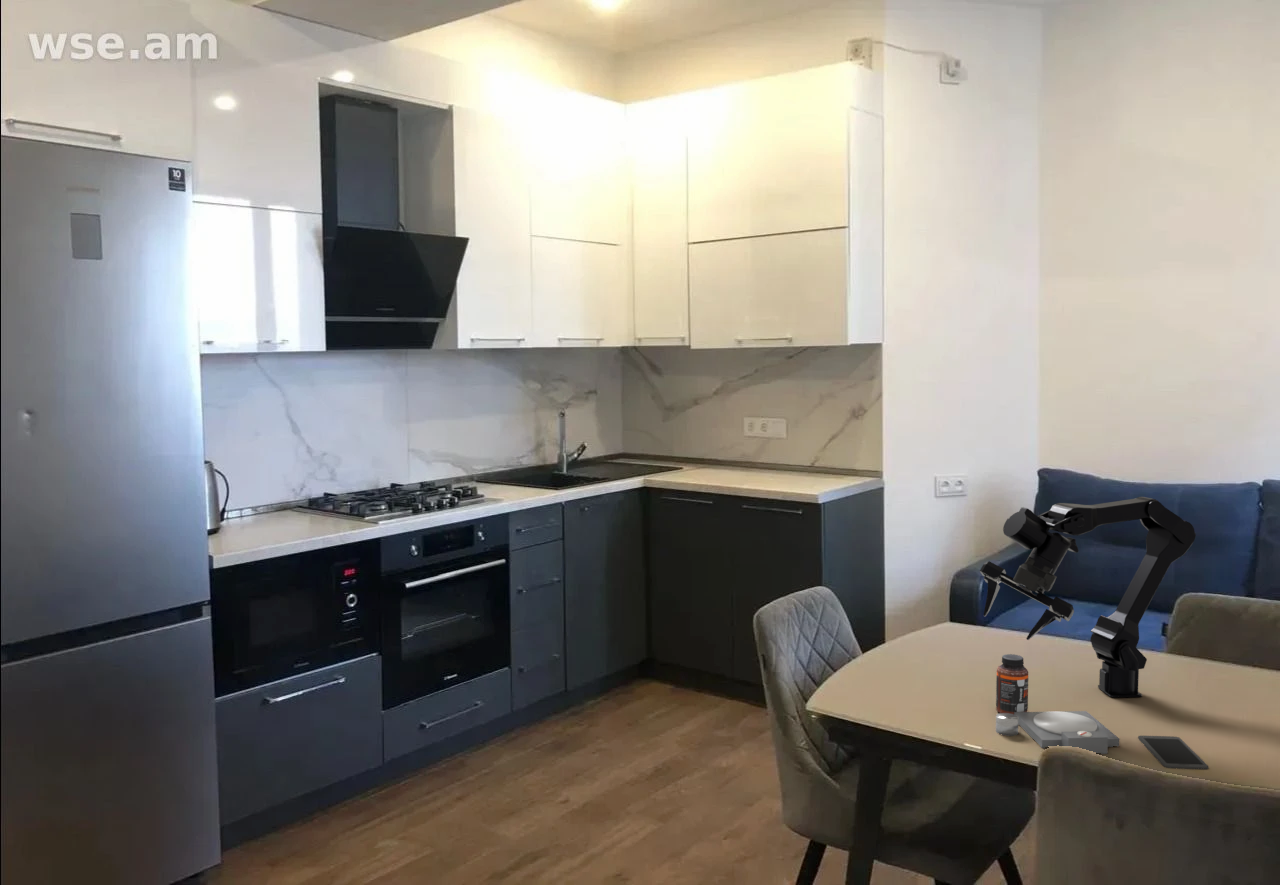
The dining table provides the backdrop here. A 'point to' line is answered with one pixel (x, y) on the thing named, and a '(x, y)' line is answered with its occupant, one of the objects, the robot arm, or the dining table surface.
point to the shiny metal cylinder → (1007, 724)
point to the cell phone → (1173, 752)
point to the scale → (1067, 730)
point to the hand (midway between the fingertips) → (1005, 627)
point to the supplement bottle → (1012, 685)
